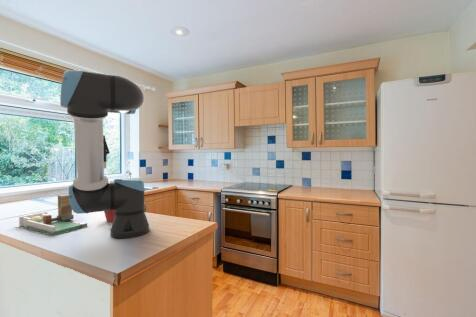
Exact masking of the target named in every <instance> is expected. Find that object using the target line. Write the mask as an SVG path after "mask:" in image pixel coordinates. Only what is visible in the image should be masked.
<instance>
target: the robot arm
mask: <svg viewBox="0 0 476 317" xmlns="http://www.w3.org/2000/svg"><path fill="white" fill-rule="evenodd" d="M59 99H60V100H59V102H60V106H61V107H62V108H64V109H65V108H66V112H67V114H68V115H69V117H71V118H72V120H73V132H74V146H75V160H76V172H77V174H76V175H77V177H76V178H74V180H73V182H72V184H69V186H68V194H69V201H70V205H71V208H72V213H75V214H78V215H79V214H89V213H97V212H104V211H109V210H115V218H114V221H113V222H112V225H111V227H110V230H109V231H110V237H112V238H114V239H130V238H136V237H139V236H143V235H145V234H147V233H149V231H150V224H149V221H148V218H147V215H146V212H145V204H146V203H145V192H146V190H145V183H144V181H143V180H141V179H139V178H129V177H116V178H114V179H113V181H109V178H108V177H107V176H106V175H105V169H107V156H108V155H109V154H110V150H109V147H108V143H107V140H106V135H104V119H105V118H107V117H108V115H109V114H108V113H114V114H126V115H135V113H136V110H138V109H139V108H140V107H142V106H143V103H144V99H145V98H144V93H143V91H142V89H141V88H140V87H139V86H138V85H137V84H136V83H134V82H133V81H131V80H129V79H127V78H125V77H122V76H119V75H110V74H106V73H99V72H92V71H87V70H85V71H84V70H75V69H68V70H65V71H64V72H63V75H62V80H61V86H60V98H59Z"/></svg>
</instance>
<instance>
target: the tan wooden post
mask: <svg viewBox="0 0 476 317" xmlns="http://www.w3.org/2000/svg"><path fill="white" fill-rule="evenodd" d="M57 220H61V221H67V220H74V214H73V210H72V208H71V205H70V201H69V193H67V194H60V195H57V215H56V216H55V217H52V215H51V214H47V215H46V216H43V224H49V223H52V221H57Z"/></svg>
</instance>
